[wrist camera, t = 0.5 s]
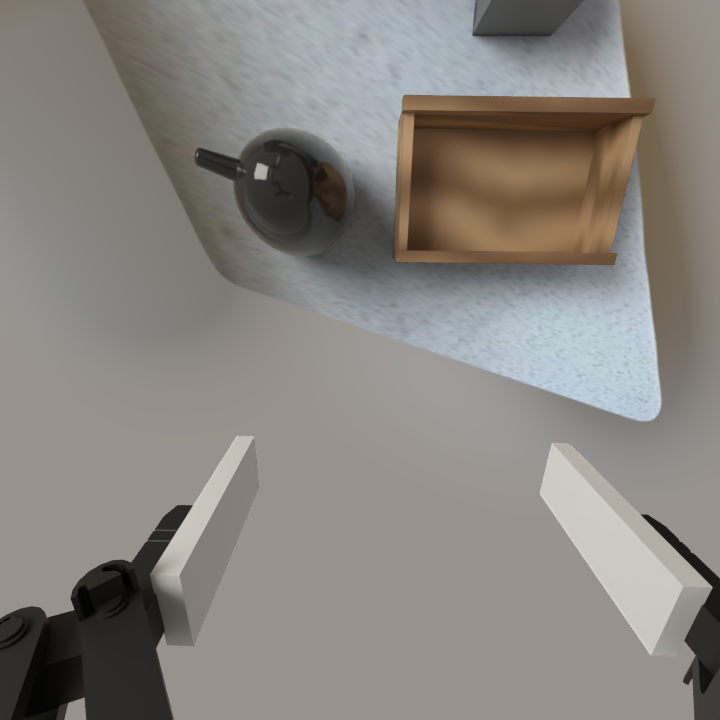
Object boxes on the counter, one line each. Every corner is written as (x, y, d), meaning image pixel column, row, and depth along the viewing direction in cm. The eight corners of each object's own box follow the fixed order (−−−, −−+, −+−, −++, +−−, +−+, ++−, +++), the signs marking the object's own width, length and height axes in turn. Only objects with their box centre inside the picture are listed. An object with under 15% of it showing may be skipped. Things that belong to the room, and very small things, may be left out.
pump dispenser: (267, 130, 34) (197, 50, 19) (369, 166, 35) (374, 115, 20) (247, 236, 37) (173, 235, 23) (340, 267, 38) (327, 283, 24)
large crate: (396, 120, 33) (403, 95, 28) (604, 122, 33) (655, 98, 28) (390, 258, 38) (396, 261, 32) (575, 260, 38) (614, 264, 32)
